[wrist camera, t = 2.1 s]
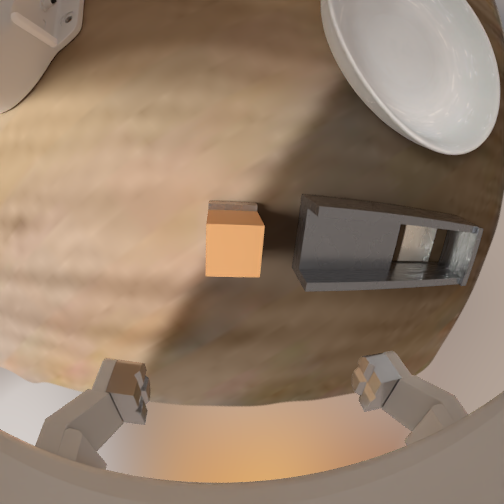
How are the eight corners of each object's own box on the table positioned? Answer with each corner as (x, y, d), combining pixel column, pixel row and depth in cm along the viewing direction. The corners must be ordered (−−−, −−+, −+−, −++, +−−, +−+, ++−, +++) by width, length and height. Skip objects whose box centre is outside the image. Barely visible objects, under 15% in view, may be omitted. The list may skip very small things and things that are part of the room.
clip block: (208, 209, 22) (206, 223, 18) (257, 211, 23) (264, 225, 19) (207, 254, 24) (205, 276, 20) (253, 255, 24) (259, 277, 20)
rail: (301, 194, 23) (321, 207, 19) (455, 215, 26) (483, 228, 22) (291, 267, 26) (306, 294, 22) (441, 267, 29) (465, 285, 24)
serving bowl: (312, 146, 22) (347, 149, 16) (286, -40, 14) (304, -77, 7) (465, 153, 23) (507, 164, 17) (442, 5, 15) (477, -6, 9)
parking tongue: (209, 200, 23) (208, 203, 22) (255, 202, 23) (257, 205, 22) (207, 255, 25) (207, 259, 24) (251, 256, 25) (252, 260, 24)
